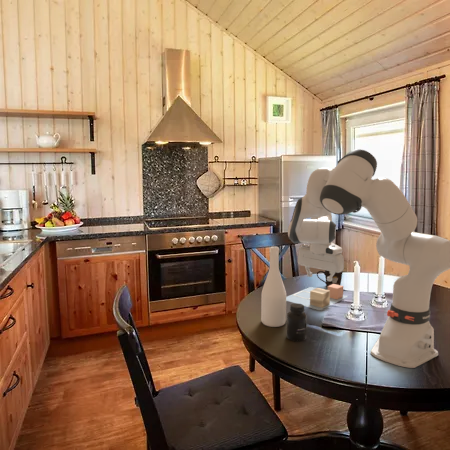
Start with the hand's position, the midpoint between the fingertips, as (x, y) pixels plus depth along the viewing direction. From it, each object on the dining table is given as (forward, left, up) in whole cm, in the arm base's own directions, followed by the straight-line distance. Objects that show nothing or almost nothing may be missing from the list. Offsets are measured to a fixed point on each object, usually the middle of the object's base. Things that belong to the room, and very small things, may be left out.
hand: (319, 278), depth 169 cm
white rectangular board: (+6, +6, -13) cm, 15 cm away
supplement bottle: (-32, -10, -13) cm, 36 cm away
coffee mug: (+26, +10, -13) cm, 31 cm away
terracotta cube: (+13, 0, -11) cm, 18 cm away
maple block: (0, 0, -11) cm, 11 cm away
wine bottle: (-27, +4, -13) cm, 30 cm away
